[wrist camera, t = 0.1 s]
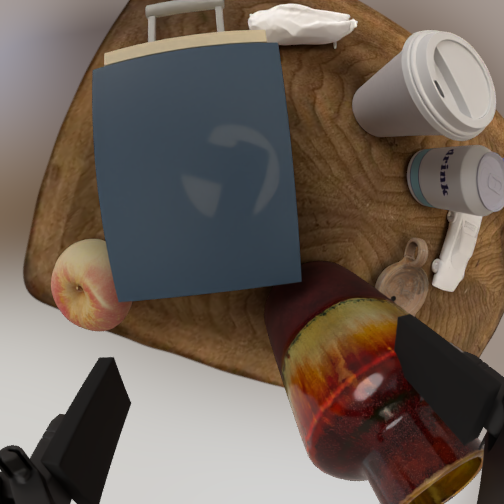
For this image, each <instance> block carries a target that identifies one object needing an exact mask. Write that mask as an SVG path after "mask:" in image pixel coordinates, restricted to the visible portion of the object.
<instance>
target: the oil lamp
mask: <svg viewBox="0 0 504 504" xmlns="http://www.w3.org/2000/svg"><path fill="white" fill-rule="evenodd" d="M417 246H418V256H417V259H416V260H415V259H414V253H415V249H416V247H417ZM427 257H428V247H427V244H426V242H425V241H424V240H423V239H419V238H411V239H410V240H409V242H408V243H407V245H406V248H405V252H404V258H403V260H401V261H400V262H396V263H394V264H392V265H390V266H388V267H387V268H386V269H384V270H383V272H382V273H381V274H380V275H379V277H378V279H377V281H376V284H375V288H376V289H377V290H378V291H380V292H381V293H383V294H384V295H385V296H387V297H388V298H390V299H391V300H392V301H394V302H395V303H396V304H398V305H399V306H400V307H402V308H403V309H404V310H406V311H407V312H408V313H410V314H411V315H413V316H414V317H415V314H416V313H417V311H418V310H419V309H420V308H421V306H422V305H423V303H424V301H425V299H426V296H427V293H428V277H427V275H426V273H425V271H424V270H423V268H422V266H423V265H424V264H425V262H426V260H427Z"/></svg>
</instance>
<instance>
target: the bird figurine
mask: <svg viewBox="0 0 504 504" xmlns="http://www.w3.org/2000/svg"><path fill="white" fill-rule="evenodd" d="M349 18H350V15H348V14H342V13H337V12H331V11H325V10H316V9H312V8H309V7H307V6H302V5H299V4H284V5H278V6H275V7H273V8H271V9H269V10H263V11H258V12H256V13H254V14H253V15H252V14H250V18H249V19H248V24H249V28H250V30H265V31H266V38H267V43H278V45H298V44H313V45H318V44H328V43H332V42H333V46H334V49H336V46H337V45H336V41H338V40H340V39H341V38H342V37H344V36H346V35H348V34H349V33H351V32H352V31H353V30H354V29H353V28H355V27H357V24H356V23H357V22H358V21H355V20H354V19H353V20H349Z"/></svg>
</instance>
